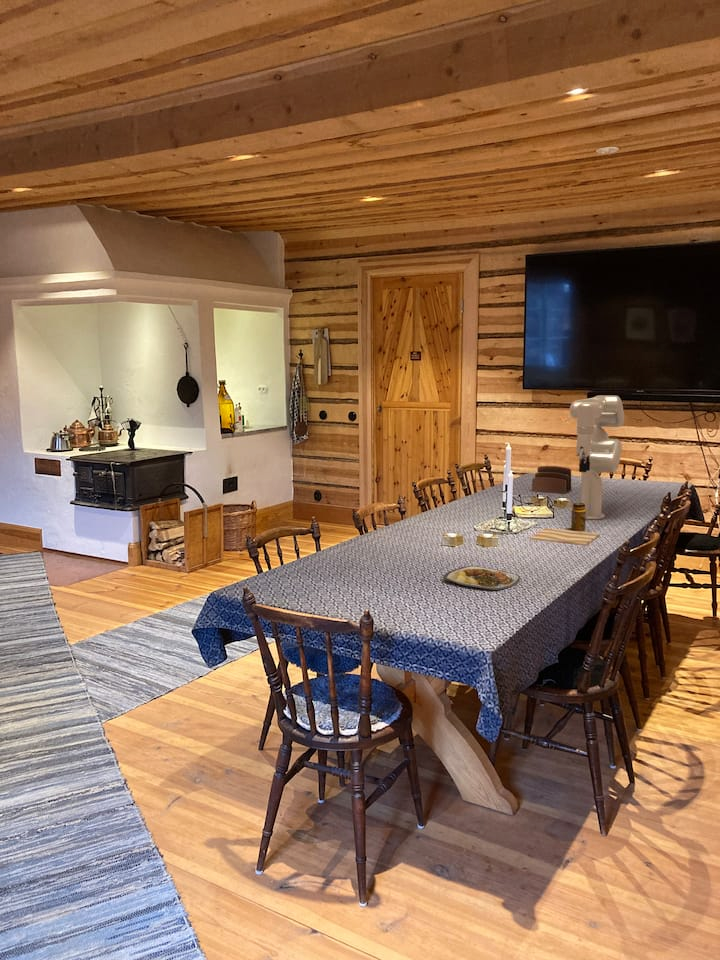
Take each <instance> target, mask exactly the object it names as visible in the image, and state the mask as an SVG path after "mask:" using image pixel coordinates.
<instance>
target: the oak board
mask: <svg viewBox="0 0 720 960" xmlns="http://www.w3.org/2000/svg"><path fill="white" fill-rule="evenodd" d="M600 536H601V534H600V533H595V532H588V531H585V532H578V531H568V530H566V529H558V528H548V527H546V528H543V529H542V530H540V531H538V532H536V533H535V534H533V535H531V536H530V537H529V540H532V541H533V540H535V541H542V542H549V543H550V542H551V543H561V544H569V545H576V546H577V545H578V546H586V547H587V546H588V545H589V544H590V543H592V542H594V541H595V540H596V539H597V538H599V537H600Z"/></svg>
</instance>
